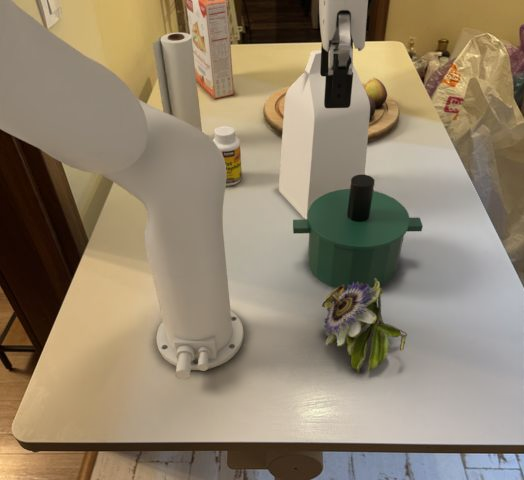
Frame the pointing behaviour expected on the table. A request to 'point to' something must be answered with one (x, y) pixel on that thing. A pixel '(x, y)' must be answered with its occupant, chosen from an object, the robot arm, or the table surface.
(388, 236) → the lid
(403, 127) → the table surface
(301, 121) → the milk
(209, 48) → the cracker box
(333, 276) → the pot
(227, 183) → the supplement bottle
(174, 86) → the paper towel roll
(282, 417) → the table surface
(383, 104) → the wooden plate
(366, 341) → the passion flower
